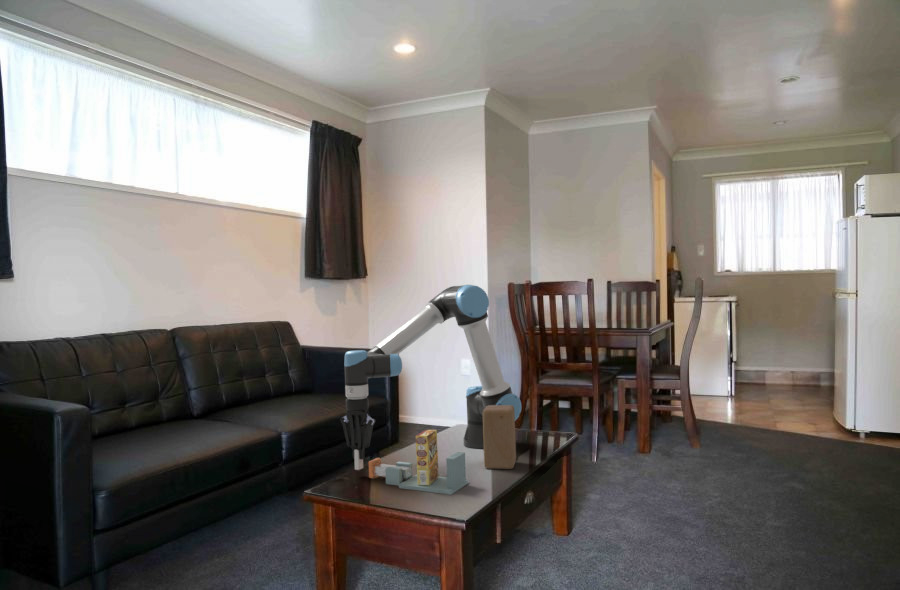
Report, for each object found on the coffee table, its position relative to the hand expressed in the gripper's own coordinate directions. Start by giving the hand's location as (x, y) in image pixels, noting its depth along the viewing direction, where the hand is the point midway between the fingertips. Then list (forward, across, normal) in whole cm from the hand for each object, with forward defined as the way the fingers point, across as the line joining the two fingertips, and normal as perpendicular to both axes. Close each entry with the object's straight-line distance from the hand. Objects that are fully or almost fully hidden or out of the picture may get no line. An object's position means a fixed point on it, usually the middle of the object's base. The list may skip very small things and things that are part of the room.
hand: (359, 468), depth 199 cm
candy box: (+2, +26, 0) cm, 26 cm away
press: (+3, +25, 0) cm, 25 cm away
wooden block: (+3, +39, +28) cm, 48 cm away
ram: (+2, +12, 0) cm, 12 cm away
